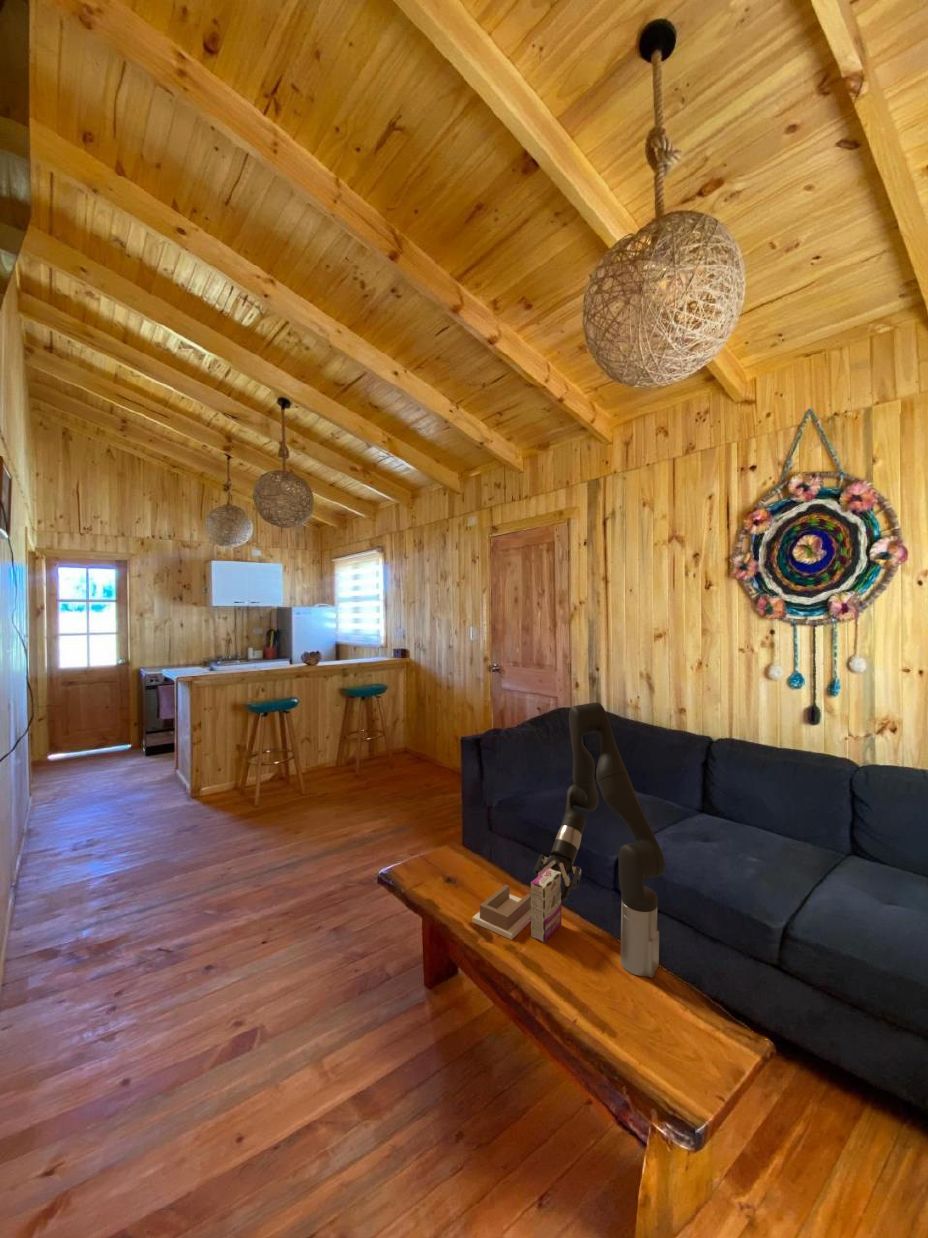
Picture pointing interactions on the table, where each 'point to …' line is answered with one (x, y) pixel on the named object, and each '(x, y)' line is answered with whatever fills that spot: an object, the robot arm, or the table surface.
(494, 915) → the slot stand
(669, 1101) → the table surface
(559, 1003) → the table surface
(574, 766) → the robot arm
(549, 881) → the candy bar box
